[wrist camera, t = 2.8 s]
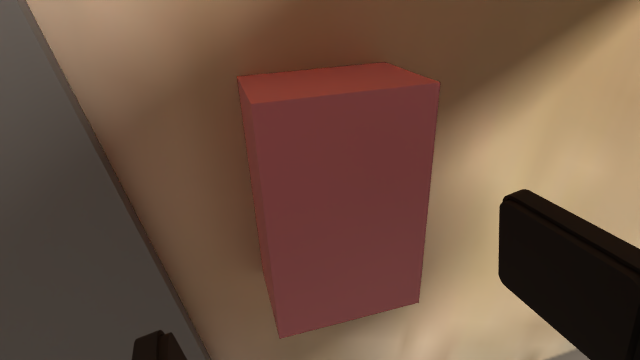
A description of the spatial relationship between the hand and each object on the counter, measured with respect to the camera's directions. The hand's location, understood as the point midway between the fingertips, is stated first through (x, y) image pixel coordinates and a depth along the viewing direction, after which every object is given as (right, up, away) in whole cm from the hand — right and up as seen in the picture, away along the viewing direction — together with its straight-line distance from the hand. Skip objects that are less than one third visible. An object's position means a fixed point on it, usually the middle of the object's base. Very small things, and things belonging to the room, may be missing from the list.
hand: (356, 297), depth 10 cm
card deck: (-1, +3, +6) cm, 7 cm away
